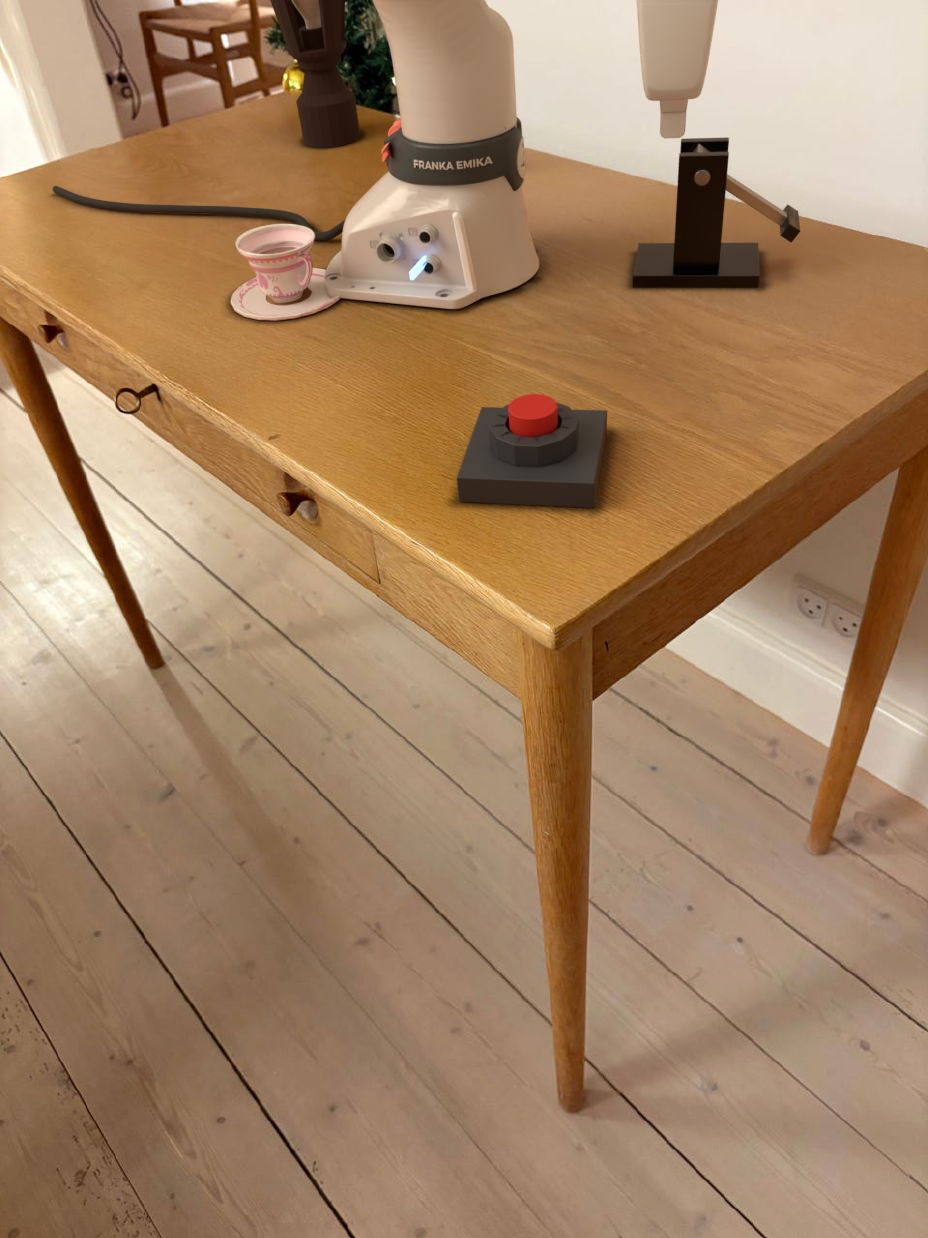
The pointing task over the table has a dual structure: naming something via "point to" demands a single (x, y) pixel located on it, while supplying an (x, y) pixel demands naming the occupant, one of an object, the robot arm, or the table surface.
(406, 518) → the table surface
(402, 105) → the robot arm
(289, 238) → the teacup
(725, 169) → the bracket
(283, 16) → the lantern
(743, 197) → the lever
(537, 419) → the button
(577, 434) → the button box
